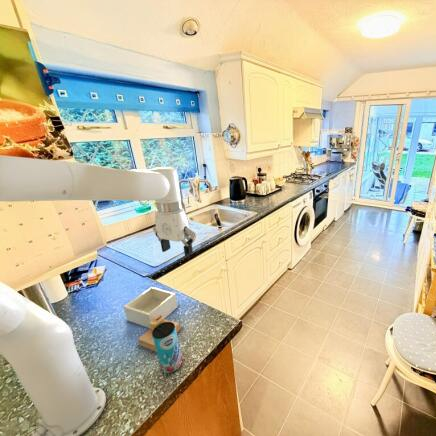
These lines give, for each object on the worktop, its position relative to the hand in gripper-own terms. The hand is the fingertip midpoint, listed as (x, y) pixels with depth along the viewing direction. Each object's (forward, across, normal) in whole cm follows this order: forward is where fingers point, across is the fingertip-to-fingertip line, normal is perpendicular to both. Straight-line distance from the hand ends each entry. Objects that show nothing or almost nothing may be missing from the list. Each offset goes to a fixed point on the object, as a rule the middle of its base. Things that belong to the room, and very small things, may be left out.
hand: (177, 252), depth 82 cm
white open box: (+29, -15, -3) cm, 33 cm away
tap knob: (+26, -3, -11) cm, 28 cm away
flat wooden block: (+29, -3, -11) cm, 31 cm away
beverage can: (+29, +9, -18) cm, 36 cm away
